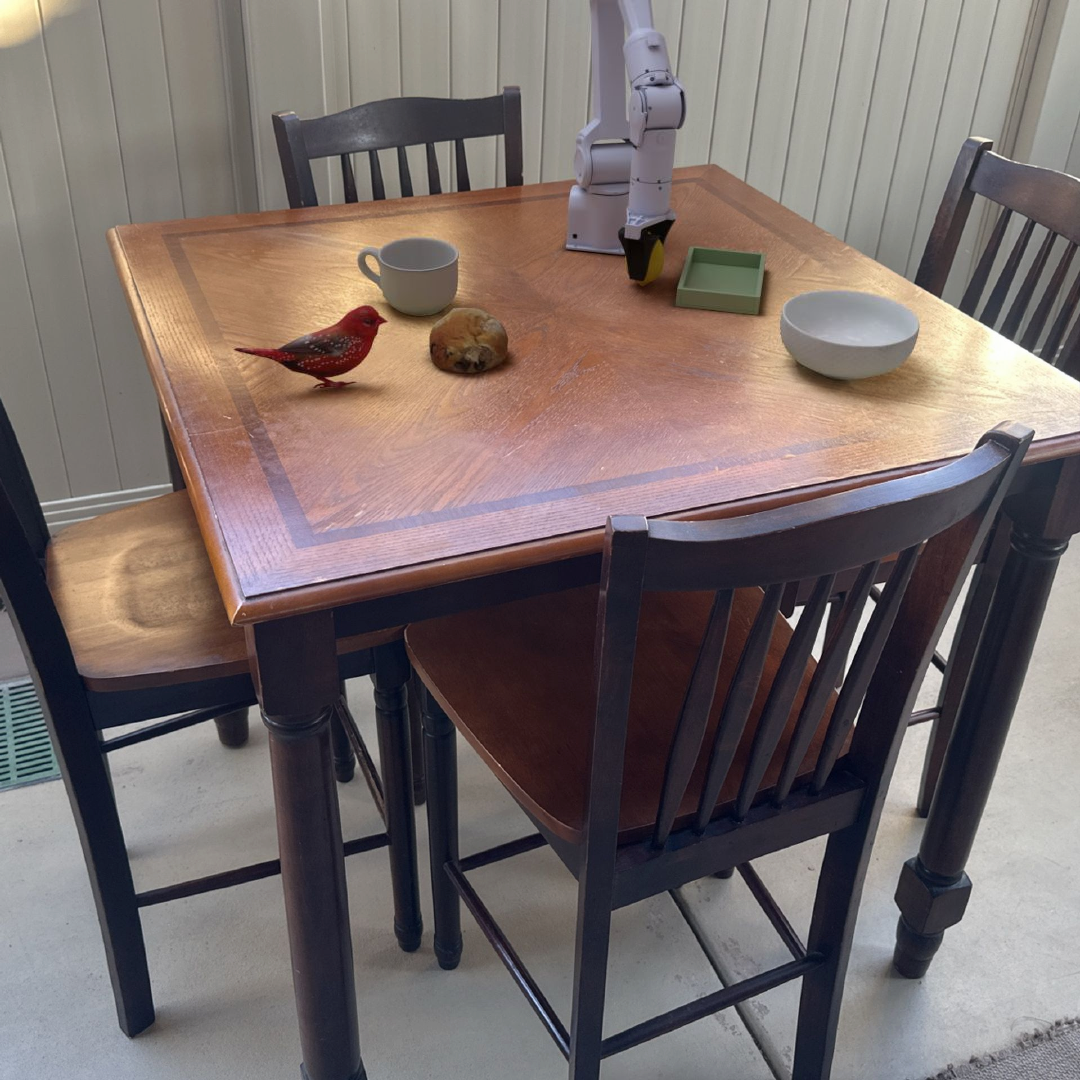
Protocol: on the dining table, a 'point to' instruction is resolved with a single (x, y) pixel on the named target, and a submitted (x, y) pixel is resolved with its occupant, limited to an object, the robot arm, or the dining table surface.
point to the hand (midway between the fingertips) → (643, 272)
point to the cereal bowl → (848, 333)
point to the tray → (721, 280)
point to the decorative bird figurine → (329, 347)
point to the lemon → (653, 264)
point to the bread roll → (468, 341)
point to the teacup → (415, 274)
